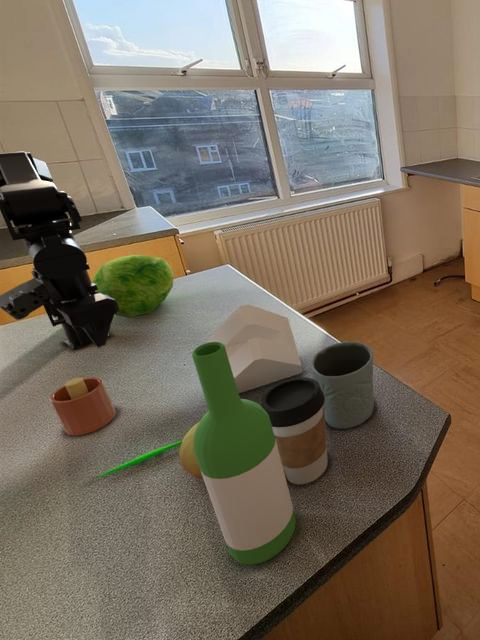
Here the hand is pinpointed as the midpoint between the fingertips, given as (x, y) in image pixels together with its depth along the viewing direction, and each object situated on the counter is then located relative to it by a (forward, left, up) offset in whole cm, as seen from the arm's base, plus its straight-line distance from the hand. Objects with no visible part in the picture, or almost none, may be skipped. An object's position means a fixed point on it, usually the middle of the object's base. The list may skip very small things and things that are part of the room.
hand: (90, 338), depth 79 cm
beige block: (+22, +16, -12) cm, 30 cm away
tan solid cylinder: (+7, -5, -11) cm, 14 cm away
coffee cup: (+48, +7, -12) cm, 50 cm away
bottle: (+53, -3, -12) cm, 55 cm away
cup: (+7, -6, -12) cm, 15 cm away
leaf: (+25, -4, -12) cm, 28 cm away
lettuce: (-32, +18, -12) cm, 38 cm away
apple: (+36, +1, -12) cm, 38 cm away
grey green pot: (+44, +19, -12) cm, 50 cm away
